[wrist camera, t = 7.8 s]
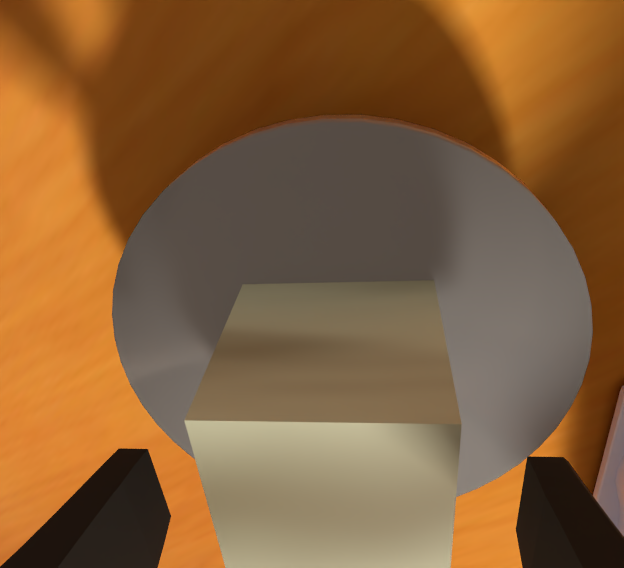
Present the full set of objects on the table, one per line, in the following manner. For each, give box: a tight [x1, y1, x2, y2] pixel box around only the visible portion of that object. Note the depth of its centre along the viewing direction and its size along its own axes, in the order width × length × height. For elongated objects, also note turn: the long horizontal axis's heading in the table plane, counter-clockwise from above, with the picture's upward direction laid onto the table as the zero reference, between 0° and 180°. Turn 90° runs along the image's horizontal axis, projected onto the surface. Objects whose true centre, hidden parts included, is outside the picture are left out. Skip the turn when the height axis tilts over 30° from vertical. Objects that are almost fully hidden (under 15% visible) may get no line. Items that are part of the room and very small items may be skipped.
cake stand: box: [112, 114, 593, 497], centre depth 15 cm, size 12×12×4 cm
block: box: [184, 280, 462, 568], centre depth 12 cm, size 4×4×4 cm
